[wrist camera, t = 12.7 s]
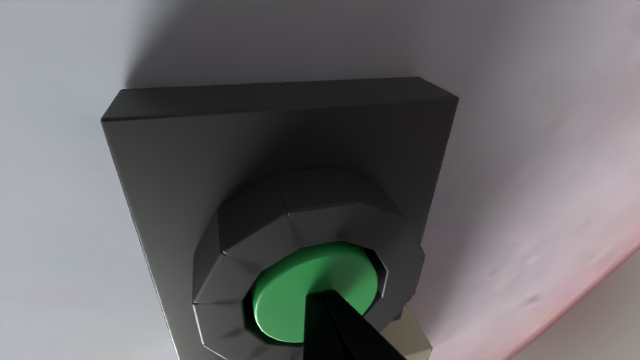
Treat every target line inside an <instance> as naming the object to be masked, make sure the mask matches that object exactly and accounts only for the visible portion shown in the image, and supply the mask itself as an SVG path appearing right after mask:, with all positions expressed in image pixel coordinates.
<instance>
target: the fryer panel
mask: <svg viewBox="0 0 640 360" xmlns="http://www.w3.org/2000/svg"><path fill="white" fill-rule="evenodd" d="M379 333H380V334H381V335H382V336H383V337H384V338H385V339H386V340H387V341H388V342H389V343H390V344H391V345H393V346H394V347H395V348H396V349H397V350H398V351H399V352H400V353H401V354H402V355H403V356H404V357H405V358H406V359H407V360H428V359H429V357H430V354H431V351H432V346H431V344H430V343H429V341H428V339H427V338H426V336H425V334H424V333H423V331H422V329H421V328H420V326H419V324H418V323H417V321H416V319H415V318H414V316H413V315H412V313H411V311H410V310H409V308H408V306H407V305H405V306H404V308H403V312H402V315H401V319H399V320H396V321H392V322H390V323H389V324H388V325H387V326H386V327H385V328H384V329H383V330H382V331H381V332H379Z"/></svg>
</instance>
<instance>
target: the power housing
mask: <svg viewBox="0 0 640 360" xmlns="http://www.w3.org/2000/svg"><path fill="white" fill-rule="evenodd" d="M458 101H459V97H458V96H456V95H454V94H452V93H450V92H448V91H446V90H444V89H442V88H440V87H438V86H436V85H434V84H432V83H430V82H428V81H426V80H424V79H422V78H420V77H404V78H380V79H356V80H332V81H308V82H284V83H260V84H236V85H212V86H188V87H164V88H140V89H122V90H120V91H119V93H118V94H117V96H116V97H115V99H114V100H113V102H112V103H111V105H110V106H109V108H108V109H107V111H106V112H105V114H104V115H103V117H102V118H101V124H102V127H103V130H104V133H105V136H106V139H107V142H108V145H109V148H110V152H111V155H112V158H113V161H114V164H115V167H116V170H117V173H118V176H119V179H120V182H121V185H122V188H123V191H124V194H125V197H126V200H127V204H128V207H129V210H130V213H131V216H132V219H133V222H134V225H135V228H136V231H137V234H138V237H139V240H140V243H141V246H142V249H143V252H144V256H145V259H146V262H147V265H148V268H149V271H150V274H151V277H152V280H153V283H154V286H155V289H156V292H157V295H158V298H159V301H160V304H161V308H162V311H163V314H164V317H165V320H166V323H167V326H168V329H169V332H170V335H171V338H172V341H173V344H174V347H175V350H176V353H177V356H178V360H302V359H303V342H285V341H280V340H276V339H274V338H272V337H270V336H268V335H266V334H265V333H264V332H263V331H262V330H261V329H260V327H259V326H258V325H257V323H256V320H255V316H254V310H253V304H252V297H251V290H250V288H251V286H252V285H253V283H254V282H255V280H256V278H257V277H258V275H259V274H260V272H261V271H263V270H265V269H266V268H268V267H270V266H271V265H273V264H274V263H276V262H278V261H279V260H281V259H283V258H284V257H286V256H288V255H289V254H291V253H292V252H294V251H296V250H297V249H299V248H301V247H307V246H312V245H318V244H324V243H329V242H335V241H341V240H342V241H345V242H349V243H352V244H355V245H359V246H362V247H363V249H364V251H365V253H366V254H367V256H368V258H369V260H370V261H371V263H372V265H373V267H374V269H375V270H376V273H377V276H378V288H377V292H376V295H375V298H374V300H373V302H372V303H371V305H370V306H369V308H368V309H367V310H366V311H365V312H364V313H363V315H362V316H363V317H364V318H365V319H366V320H367V321H368V322H369V323H370V324H371V325H372V326H373V327H374V328H375V329H376V330H377V331H378V332H381V331H382V330H383V329H384V328H385V327H386V326H387V325H388V324H389V323H390V322H392V321H396V320H399V319H401V315H402V312H403V308H404V306H405V305H406V304H407V303H408V301H409V300H410V299H411V298H412V297H413V295H414V294H415V291H416V287H417V284H418V280H419V277H420V273H421V270H422V266H423V263H424V259H425V254H424V252H423V250H422V248H421V245H420V244H421V240H422V236H423V233H424V229H425V225H426V221H427V218H428V214H429V210H430V206H431V203H432V199H433V195H434V191H435V188H436V184H437V180H438V176H439V173H440V169H441V165H442V161H443V157H444V154H445V150H446V146H447V142H448V139H449V135H450V131H451V127H452V124H453V120H454V116H455V112H456V109H457V105H458Z"/></svg>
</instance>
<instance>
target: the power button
mask: <svg viewBox="0 0 640 360" xmlns="http://www.w3.org/2000/svg"><path fill="white" fill-rule="evenodd" d="M377 288H378V276H377V273H376V270H375V269H374V267H373V265H372V263H371V261H370V260H369V258H368V256H367V254H366V253H365V251H364V249H363V247H362V246H359V245H355V244H352V243H349V242H345V241H342V240H341V241H335V242H329V243H324V244H318V245H312V246H307V247H301V248H299V249H297V250H296V251H294V252H292V253H291V254H289V255H288V256H286V257H284V258H283V259H281V260H279V261H278V262H276V263H274V264H273V265H271V266H270V267H268V268H266V269H265V270H263V271H261V272H260V274H259V275H258V277H257V278H256V280H255V282H254V283H253V285H252V286H251V288H250V290H251V297H252V304H253V310H254V316H255V320H256V323H257V325H258V326H259V327H260V329H261V330H262V331H263V332H264V333H265V334H266V335H268V336H270V337H272V338H274V339H276V340H280V341H285V342H303V338H304V318H305V297H306V295H308V294H313V293H321V292H322V291H327V290H331V289H334V290H336V291H337V292H338V293H339V294H340V295H341V296H342V297H343V298H344V299H345V300H346V301H347V302H348V303H349V304H350V305H351V306H352V307H353V308H355V309H356V310H357V311H358V312H359V313H360V314H361V315H363V313H364V312H365V311H366V310H367V309H368V308H369V306H370V305H371V303H372V302H373V300H374V298H375V295H376V292H377Z"/></svg>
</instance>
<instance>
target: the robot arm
mask: <svg viewBox="0 0 640 360" xmlns="http://www.w3.org/2000/svg"><path fill="white" fill-rule="evenodd" d="M302 360H407V359H406V358H405V357H404V356H403V355H402V354H401V353H400V352H399V351H398V350H397V349H396V348H395V347H394V346H393V345H391V344H390V343H389V342H388V341H387V340H386V339H385V338H384V337H383V336H382V335H381V334H380V333H379V332H378V331H377V330H376V329H375V328H374V327H373V326H372V325H371V324H370V323H369V322H368V321H367V320H366V319H365V318H364V317H363V316H362V315H361V314H360V313H359V312H358V311H357V310H356V309H355V308H353V307H352V306H351V305H350V304H349V303H348V302H347V301H346V300H345V299H344V298H343V297H342V296H341V295H340V294H339V293H338V292H337V291H336V290H334V289H331V290H327V291H322V292H321V293H313V294H308V295H306V297H305V318H304V338H303V359H302Z"/></svg>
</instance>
